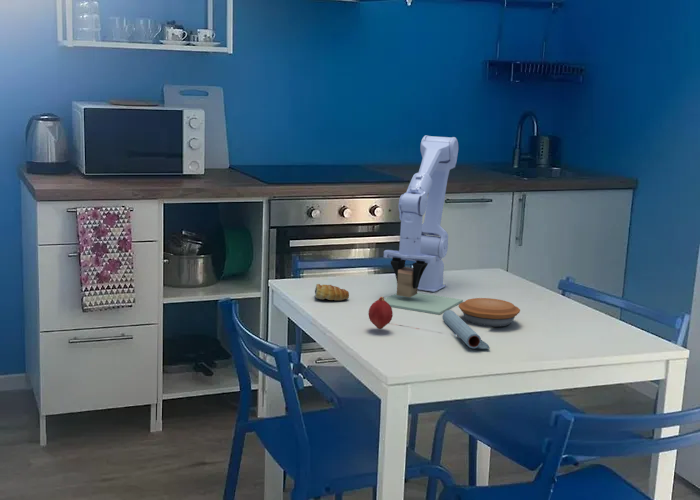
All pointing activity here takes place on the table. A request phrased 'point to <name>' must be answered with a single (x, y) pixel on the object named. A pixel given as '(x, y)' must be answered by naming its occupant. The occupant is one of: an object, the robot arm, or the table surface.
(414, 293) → the walnut block
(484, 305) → the pie
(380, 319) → the onion
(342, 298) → the pastry
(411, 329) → the table surface
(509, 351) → the table surface
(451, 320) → the aluminum foil
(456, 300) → the sage mat
